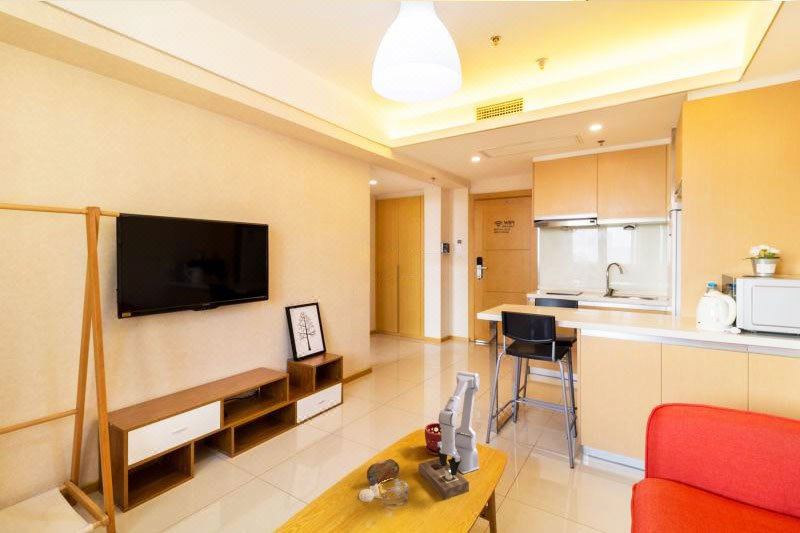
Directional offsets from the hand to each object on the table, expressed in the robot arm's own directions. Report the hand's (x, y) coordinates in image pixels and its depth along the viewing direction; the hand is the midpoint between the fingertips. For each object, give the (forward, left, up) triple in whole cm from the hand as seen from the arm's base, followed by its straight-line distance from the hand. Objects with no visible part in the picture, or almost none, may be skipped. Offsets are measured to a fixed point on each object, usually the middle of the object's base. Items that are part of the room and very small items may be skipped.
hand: (448, 470), depth 159 cm
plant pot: (-12, -28, -8) cm, 31 cm away
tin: (+23, -18, -8) cm, 30 cm away
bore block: (0, -5, -7) cm, 9 cm away
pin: (0, 0, -7) cm, 7 cm away
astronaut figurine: (+31, -11, -8) cm, 33 cm away
